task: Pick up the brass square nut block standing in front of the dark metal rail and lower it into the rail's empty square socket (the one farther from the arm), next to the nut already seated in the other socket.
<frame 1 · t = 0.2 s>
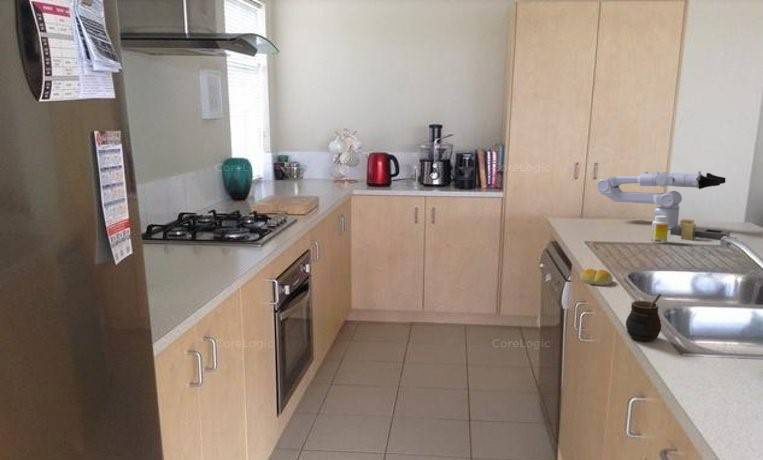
hand: (722, 181, 242), 21 cm above the worktop, tool horizontal, fingers open, 7 cm apart
mate gourd: (642, 338, 134), on the worktop
seated nut: (686, 234, 244), resting in rail
rail: (699, 235, 241), on the worktop
supplement bottle: (658, 242, 231), on the worktop
bread roll: (596, 283, 179), on the worktop
nut: (687, 239, 236), on the worktop
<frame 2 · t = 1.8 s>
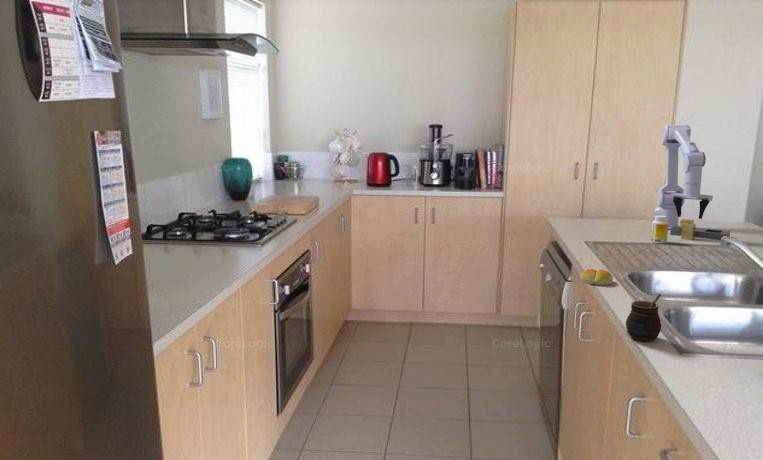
hand: (689, 217, 234), 9 cm above the worktop, tool pointing down, fingers open, 7 cm apart
nothing on the worktop moved.
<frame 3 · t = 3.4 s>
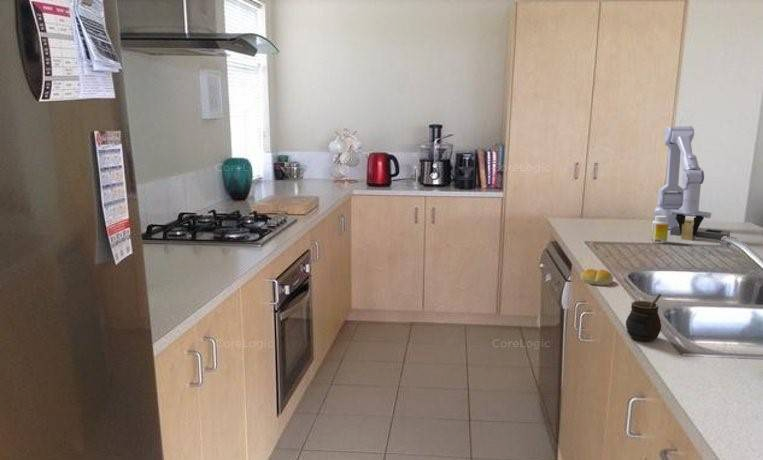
hand: (688, 234, 235), 2 cm above the worktop, tool pointing down, fingers closed on nut, 4 cm apart
nut: (687, 238, 236), on the worktop, touching gripper
everything else where it was.
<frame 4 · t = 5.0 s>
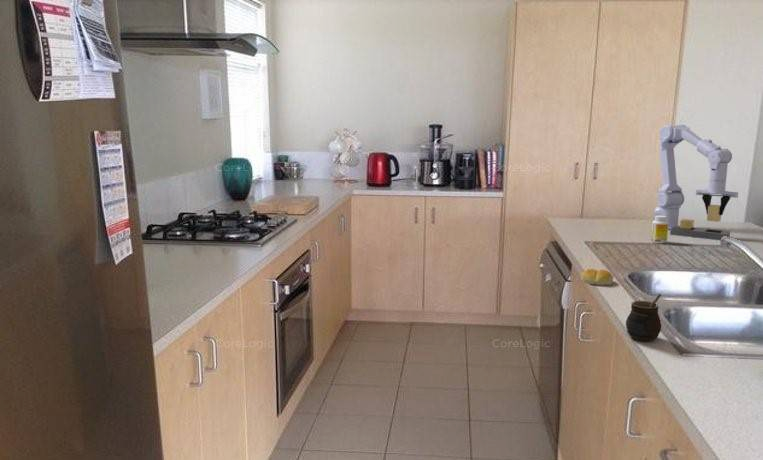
hand: (714, 214, 236), 9 cm above the worktop, tool pointing down, fingers closed on nut, 4 cm apart
nut: (713, 220, 236), point 7 cm above the worktop, touching gripper
everything else where it was.
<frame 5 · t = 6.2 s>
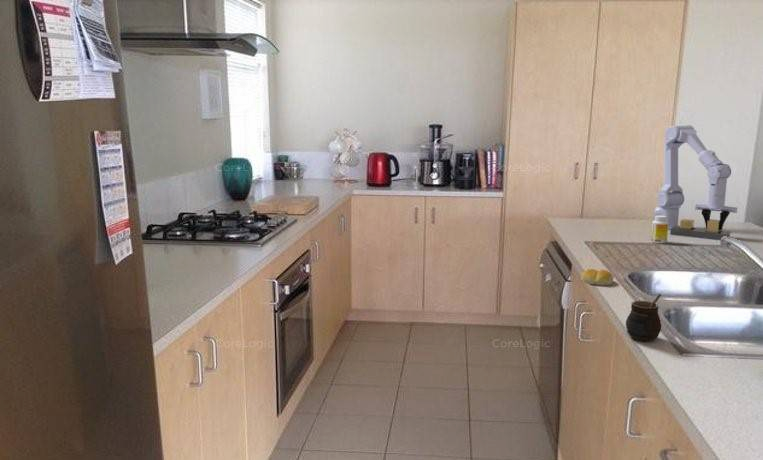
hand: (713, 228, 237), 3 cm above the worktop, tool pointing down, fingers closed on nut, 4 cm apart
nut: (713, 235, 237), point 1 cm above the worktop, touching gripper
everything else where it was.
when the fingers open (3 cm above the worktop, at t = 7.0 s): nut stays where it is, resting in rail.
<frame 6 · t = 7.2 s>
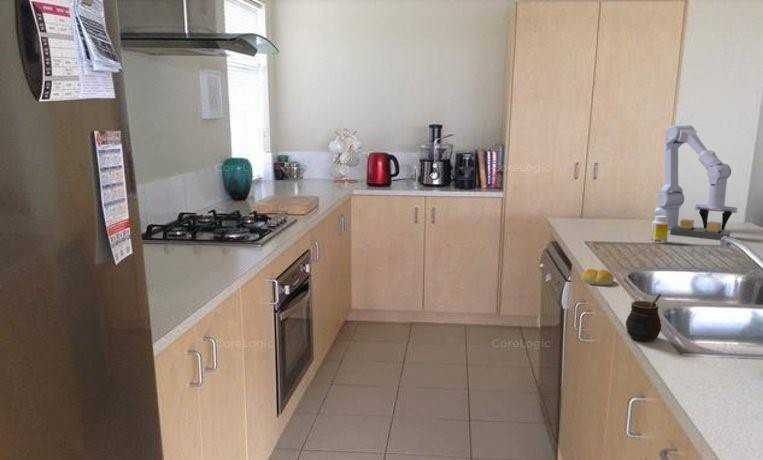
hand: (713, 229, 237), 3 cm above the worktop, tool pointing down, fingers open, 6 cm apart
nut: (713, 237, 237), resting in rail
everything else where it was.
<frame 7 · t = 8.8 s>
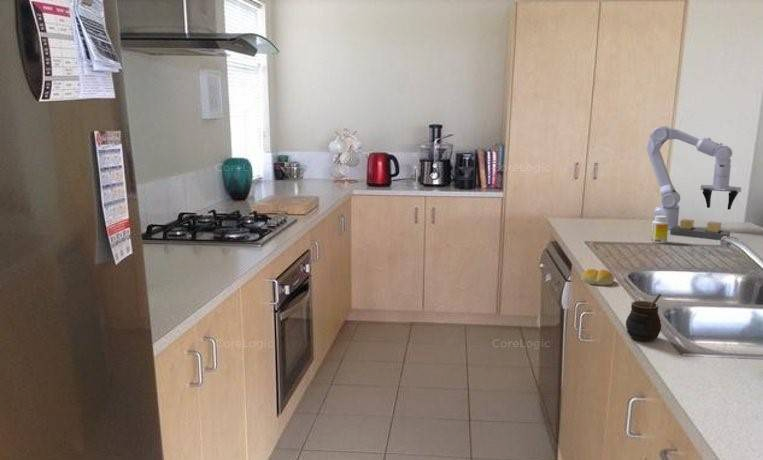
hand: (718, 208, 247), 10 cm above the worktop, tool pointing down, fingers open, 7 cm apart
nothing on the worktop moved.
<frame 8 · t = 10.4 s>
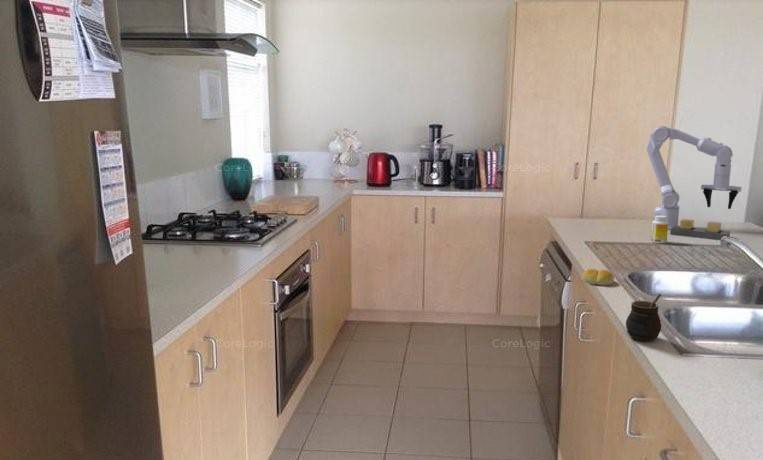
hand: (719, 207, 248), 10 cm above the worktop, tool pointing down, fingers open, 7 cm apart
nothing on the worktop moved.
at the end: nut 0.3 cm from the target spot on the rail, point 0.0 cm above the rail's base; nut tilted 0°; the gripper is holding nothing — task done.
